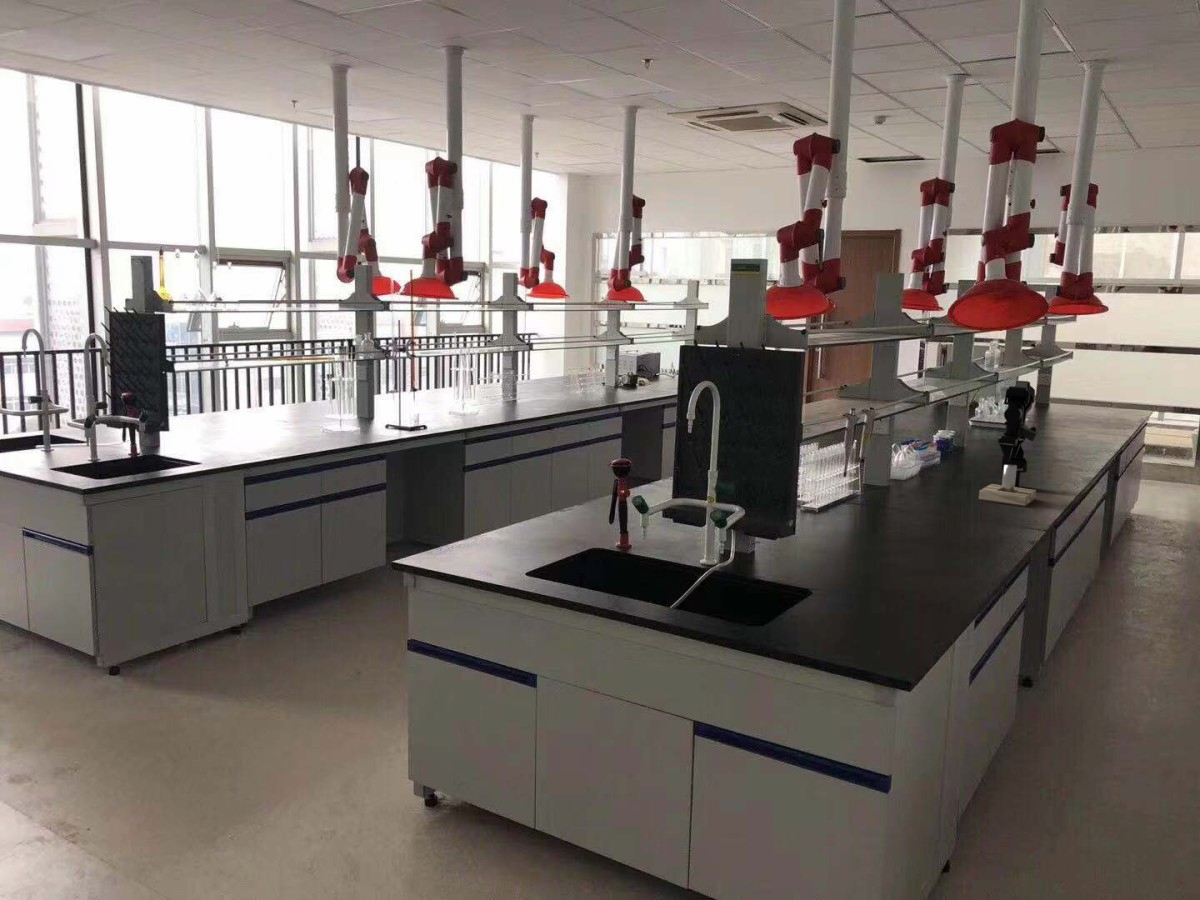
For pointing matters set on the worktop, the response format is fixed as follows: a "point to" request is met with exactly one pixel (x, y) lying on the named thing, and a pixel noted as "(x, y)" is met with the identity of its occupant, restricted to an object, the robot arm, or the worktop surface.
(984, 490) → the socket block
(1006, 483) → the steel roller
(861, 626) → the worktop surface
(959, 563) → the worktop surface
